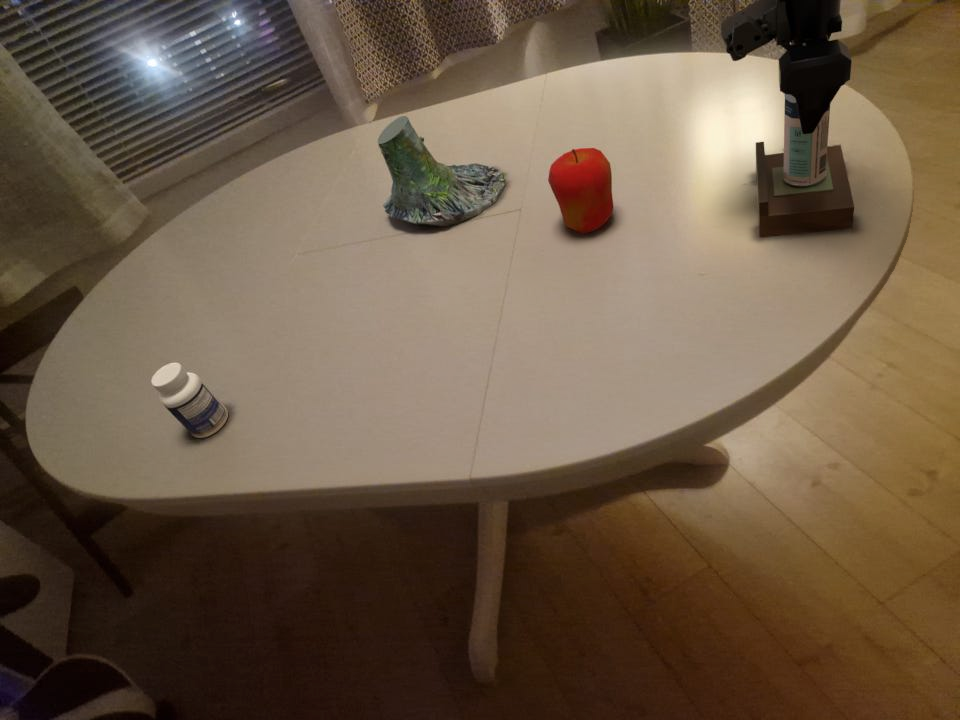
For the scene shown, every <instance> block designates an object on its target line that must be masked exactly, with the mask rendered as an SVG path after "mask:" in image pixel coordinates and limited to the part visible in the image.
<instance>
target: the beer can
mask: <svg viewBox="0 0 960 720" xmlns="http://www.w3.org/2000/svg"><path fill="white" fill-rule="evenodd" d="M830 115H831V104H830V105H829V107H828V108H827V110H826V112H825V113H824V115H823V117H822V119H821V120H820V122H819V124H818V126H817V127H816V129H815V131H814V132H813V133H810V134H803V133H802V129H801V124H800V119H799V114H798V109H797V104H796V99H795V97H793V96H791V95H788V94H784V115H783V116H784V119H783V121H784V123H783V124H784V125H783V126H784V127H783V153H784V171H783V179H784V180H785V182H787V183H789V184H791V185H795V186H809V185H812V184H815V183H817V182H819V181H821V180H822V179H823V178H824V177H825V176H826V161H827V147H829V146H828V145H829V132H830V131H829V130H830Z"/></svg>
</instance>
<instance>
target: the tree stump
mask: <svg viewBox="0 0 960 720" xmlns="http://www.w3.org/2000/svg"><path fill="white" fill-rule="evenodd" d="M424 142H425V137H422V136H421V135H418V133H417V131H416V129H415V128H414V126H413V125H412V123H411V121H410V119H409V117H408V116H406V115H402V116H399V117H397V118H395V119H394V120H393V121H391V122H390V123H389V124H387V125H386V127H385V128H384V129H383V130H382V131H381V133H380V134H379V136H378V139H377V144H378V147H379V150H380V153H381V155H382V156H383V159H384V162H385V164H386V167H387V168H388V172H389V174H390V177H391V181H392V185H391V188H390V189H391V191H390V194H391V195H390V196H389V197H388V198H386V200H384V202H383V204H382V207H383V208H384V209H385V210H384V212H385V213H386V214H387V215H389V216H390V217H391V218H392V219H398V220H400V221H403V222H406V223H409V224H414V225H417V226H418V225H420V226H431V227H449V226H452V225H457V224H460V223H462V222H464V221H467V220H469V219H472V218H474V217H476V216H478V215H480V214H481V213H482V212H483V211H485V210H486V209H487V208H489V207H491V206H492V205H494V204H495V203H496V202H497V201H498V199H499V198H500V196H501V195H502V193H503V191H504V189H505V188H506V181H505V174H504V171H500V170H499V169H498V168H495V167H494V166H490V165H489V166H488V165H484V164H480V163H469V164H467V165H466V164H463V165H462V164H461V165H460V164H459V165H457V164H452V165H446V164H445V163H443V162H438V161H437V160H436V159H435V158H434V156H433V155H432V153H431V152H430V151H429V149H428V147H427V146H426V144H425V143H424Z"/></svg>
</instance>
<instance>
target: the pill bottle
mask: <svg viewBox="0 0 960 720" xmlns="http://www.w3.org/2000/svg"><path fill="white" fill-rule="evenodd" d="M150 381H151V385H152V386H153V387H154V389H156V391H157V392H158V393H159V401H160V403H161V404H162V406H164V407H165V408H166V410H167V411H168V412H169V413H170V414H171V415H172V416H173V417H174V418H175V419H176V420H177V422H179V423H180V424H181V425H182V426H183V427H184V428H185V429H186V430H187V431H188V432H189V433H190V434H191V435H192V436H193V437H195V438H198V439H204V438H208V437H210V436H212V435H214V434H216V433H217V432H218V431H219V430H221V429H222V428H223V426H224V425H225V424H226V422H227V421H228V417H229V410H228V409H227V408H226V406H225V405H224V404H223V402H222V401H221V400H220V399H219V398H218V397H217V396H216V394H215V393H214V392H213V391H212V390H211V389H210V388H209V387H208V385H206V383H205V382H204V381H203V379H201V378H200V376H199V375H197V374H196V373H194V372H188V371H187V370H186V369H185V368H184V367H183V366H182V365H181V364H180V363H179V362H170V363H167V364H165V365H163V366H162V367H160V368H159V369H158V370H157V371H155V373H154V374H153V376H152V377H151V379H150Z"/></svg>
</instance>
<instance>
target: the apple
mask: <svg viewBox="0 0 960 720" xmlns="http://www.w3.org/2000/svg"><path fill="white" fill-rule="evenodd" d="M612 175H613V174H612V167H611V163H610V161H609V160H608V158H607V157H606V156H605V154H604V153H603V152H602V151H601V150H600V149H597V148H595V147H581V148H576V149H575V148H572V149H571V150H570V151H567V152H565V153H563V154H562V155H560V156H558V157H557V158H556V159H555V160H554V161H553V162H552V163H551V165H550V167H549V170H548V177H547V181H548V184H549V186H550V189H551V191H552V193H553V195H554V197H555V200H556V202H557V205H558V206H559V207H558V208H559V211H560V214H561V216H562V220H563V222H564V224H565V226H566V227H568V228H570V229H572V230H574V231H576V232H578V233H583V234H587V233H591V232H593V231H595V230H598V229H600V228H601V227H602V226H603V225H604V224H605V223H606V222H607V221H608V219H610V217H611V216H612V215H613V212H614V200H613V199H614V198H613V182H612V181H613V179H612V178H613V176H612Z"/></svg>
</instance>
